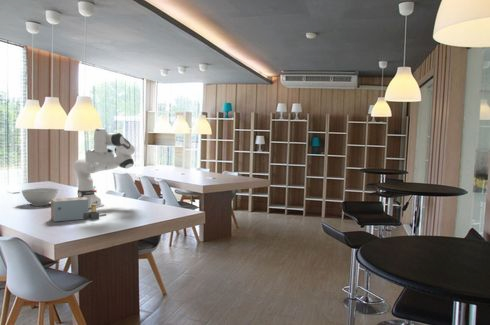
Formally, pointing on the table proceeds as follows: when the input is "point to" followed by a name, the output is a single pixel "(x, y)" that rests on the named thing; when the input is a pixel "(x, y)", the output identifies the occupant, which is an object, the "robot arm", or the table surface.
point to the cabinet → (61, 200)
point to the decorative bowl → (39, 195)
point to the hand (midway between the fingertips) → (100, 168)
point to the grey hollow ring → (91, 215)
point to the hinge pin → (93, 208)
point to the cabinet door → (70, 209)
